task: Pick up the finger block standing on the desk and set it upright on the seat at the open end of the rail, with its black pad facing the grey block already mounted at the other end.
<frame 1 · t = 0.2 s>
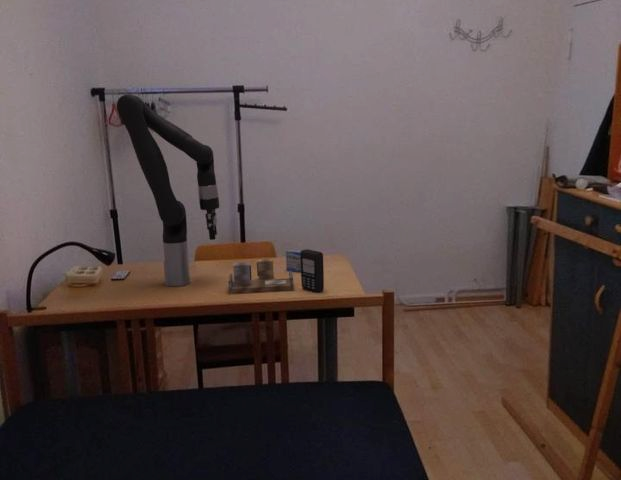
hand: (213, 237, 233), 18 cm above the table, tool pointing down, fingers open, 8 cm apart
rail: (261, 288, 225), on the table
medicine box: (296, 271, 249), on the table
finger block: (266, 279, 237), on the table
card reader: (312, 290, 221), on the table
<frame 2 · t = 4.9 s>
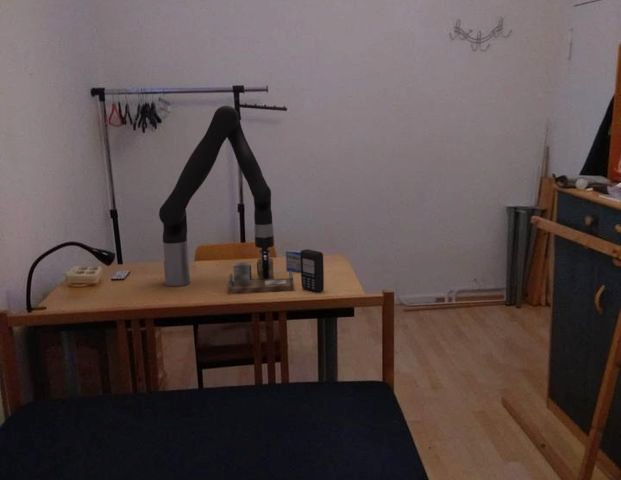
hand: (266, 276, 237), 1 cm above the table, tool pointing down, fingers closed on finger block, 4 cm apart
finger block: (266, 279, 237), on the table, touching gripper
everything else where it was.
when the fingers open (4 cm above the table, at t = 10.3 s): finger block stays where it is, resting on rail.
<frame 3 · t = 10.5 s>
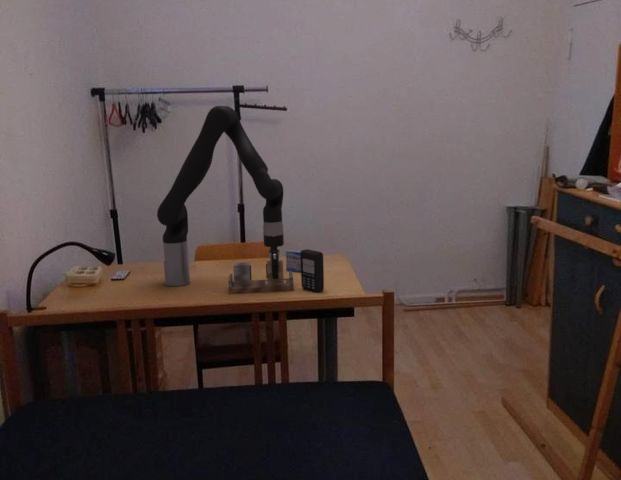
hand: (275, 276, 224), 4 cm above the table, tool pointing down, fingers open, 5 cm apart
finger block: (275, 282, 225), point 2 cm above the table, touching rail
everything else where it was.
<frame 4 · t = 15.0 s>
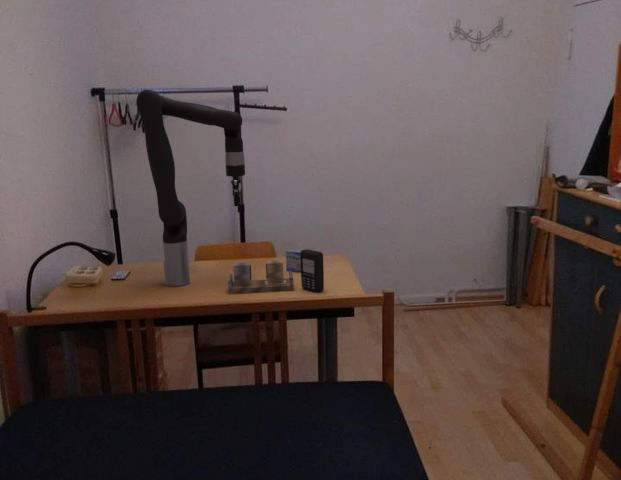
hand: (237, 204, 235), 30 cm above the table, tool pointing down, fingers open, 8 cm apart
nothing on the table moved.
at the end: finger block inside the target area on the rail (0.2 cm from its centre), point 2.2 cm above the rail's base; finger block tilted 0°; the gripper is holding nothing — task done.
